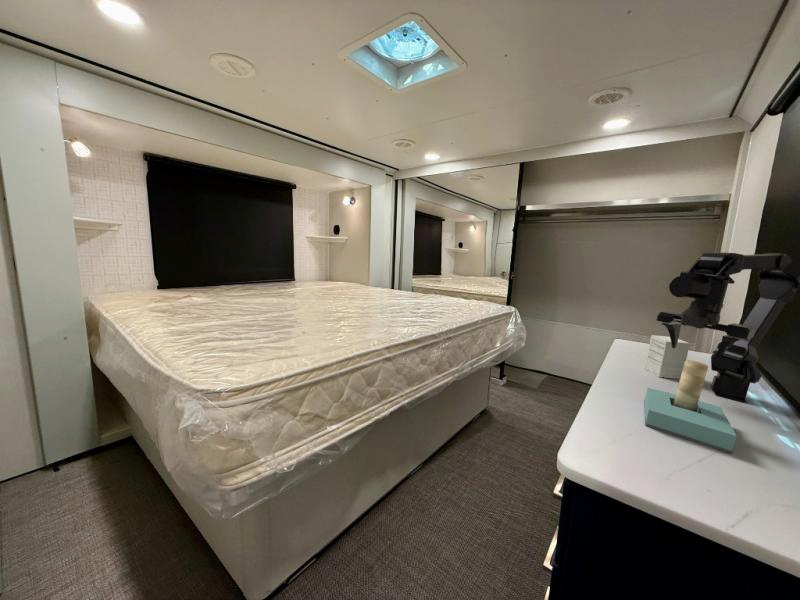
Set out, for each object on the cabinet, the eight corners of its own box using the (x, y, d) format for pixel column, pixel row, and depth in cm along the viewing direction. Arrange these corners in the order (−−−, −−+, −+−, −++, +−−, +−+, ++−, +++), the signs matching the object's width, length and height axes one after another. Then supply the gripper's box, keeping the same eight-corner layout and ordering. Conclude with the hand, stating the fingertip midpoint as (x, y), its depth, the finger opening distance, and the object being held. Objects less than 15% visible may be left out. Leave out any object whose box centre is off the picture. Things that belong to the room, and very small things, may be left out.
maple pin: (685, 415, 76) (700, 362, 74) (696, 423, 72) (713, 368, 70) (667, 411, 77) (681, 359, 74) (677, 420, 73) (692, 365, 71)
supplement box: (665, 370, 108) (673, 336, 106) (682, 379, 101) (691, 343, 99) (643, 368, 109) (650, 334, 107) (658, 377, 102) (666, 340, 99)
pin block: (716, 421, 75) (720, 406, 74) (731, 453, 63) (736, 436, 62) (644, 400, 84) (647, 387, 83) (645, 425, 71) (648, 409, 70)
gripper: (653, 293, 87) (641, 345, 90) (749, 307, 71) (731, 370, 74) (670, 292, 93) (659, 342, 95) (763, 305, 77) (745, 364, 80)
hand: (694, 353), depth 86 cm, fingers open, 9 cm apart
